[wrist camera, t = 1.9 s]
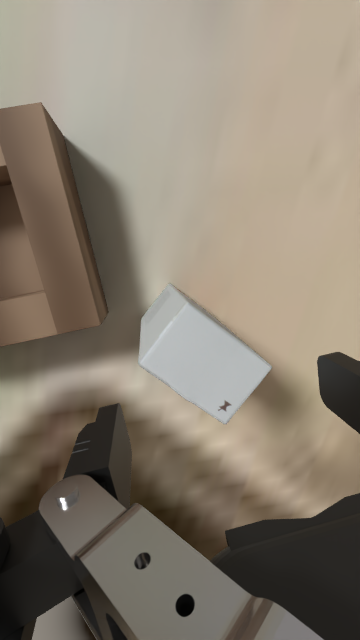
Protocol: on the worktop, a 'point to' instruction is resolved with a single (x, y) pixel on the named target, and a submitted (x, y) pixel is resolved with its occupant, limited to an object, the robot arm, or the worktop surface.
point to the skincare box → (198, 355)
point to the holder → (42, 234)
